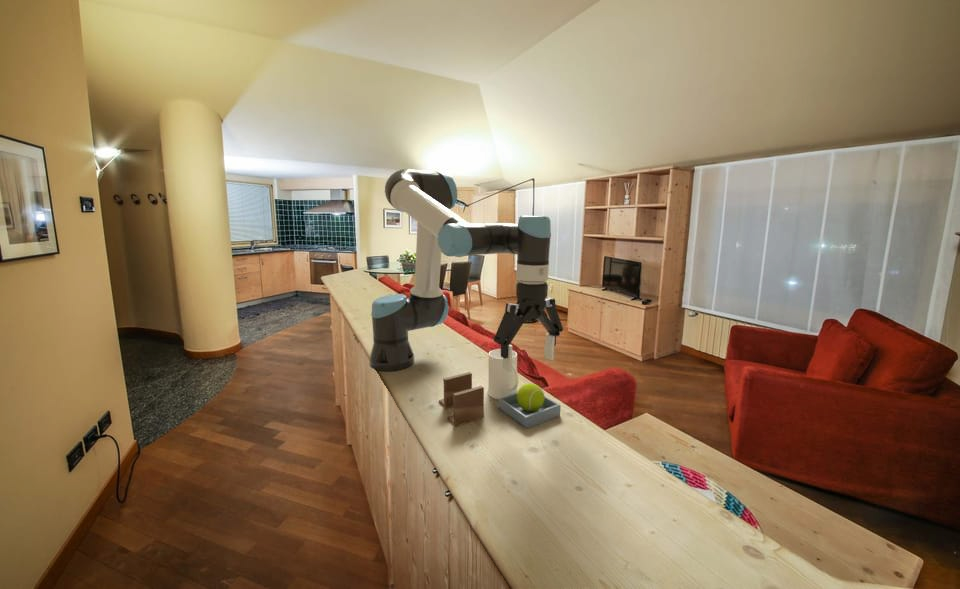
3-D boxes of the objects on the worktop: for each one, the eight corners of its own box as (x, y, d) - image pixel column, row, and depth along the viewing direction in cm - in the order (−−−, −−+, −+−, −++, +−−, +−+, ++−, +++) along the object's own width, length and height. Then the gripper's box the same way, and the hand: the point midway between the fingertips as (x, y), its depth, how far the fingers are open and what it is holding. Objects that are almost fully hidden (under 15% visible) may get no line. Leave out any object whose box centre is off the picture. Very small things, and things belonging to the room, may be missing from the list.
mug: (528, 401, 102) (529, 360, 100) (500, 407, 99) (501, 365, 97) (508, 384, 113) (509, 346, 111) (482, 389, 110) (482, 350, 107)
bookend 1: (439, 402, 102) (438, 374, 101) (464, 394, 106) (464, 368, 105) (446, 408, 99) (445, 380, 97) (472, 400, 103) (471, 373, 101)
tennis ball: (549, 411, 96) (550, 386, 95) (529, 419, 92) (530, 393, 91) (531, 400, 102) (531, 376, 100) (511, 408, 98) (511, 383, 96)
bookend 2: (447, 418, 94) (447, 388, 92) (475, 409, 98) (474, 381, 96) (456, 426, 90) (455, 395, 89) (483, 416, 94) (483, 387, 93)
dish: (498, 409, 98) (498, 398, 98) (531, 398, 104) (531, 388, 104) (525, 428, 89) (525, 417, 88) (559, 415, 95) (560, 404, 94)
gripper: (498, 289, 80) (496, 380, 85) (580, 279, 93) (574, 359, 98) (480, 283, 86) (479, 369, 91) (559, 274, 99) (554, 350, 104)
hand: (528, 364), depth 94 cm, fingers open, 13 cm apart
